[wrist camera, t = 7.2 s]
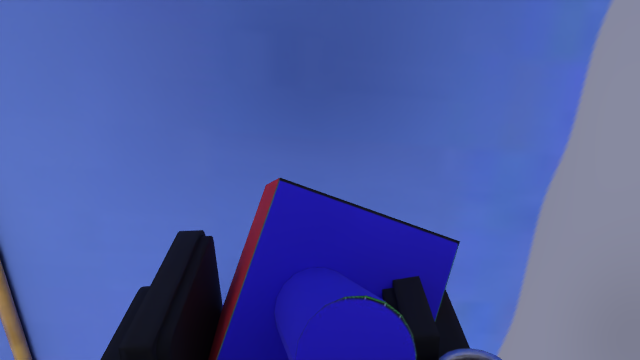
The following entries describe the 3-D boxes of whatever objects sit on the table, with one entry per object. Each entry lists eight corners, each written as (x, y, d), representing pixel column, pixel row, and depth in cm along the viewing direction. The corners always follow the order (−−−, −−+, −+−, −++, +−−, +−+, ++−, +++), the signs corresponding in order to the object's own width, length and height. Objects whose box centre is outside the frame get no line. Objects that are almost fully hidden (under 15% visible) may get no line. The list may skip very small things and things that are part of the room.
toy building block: (378, 228, 14) (556, 256, 7) (331, 371, 14) (463, 586, 6) (261, 187, 14) (302, 165, 6) (209, 334, 13) (180, 520, 6)
